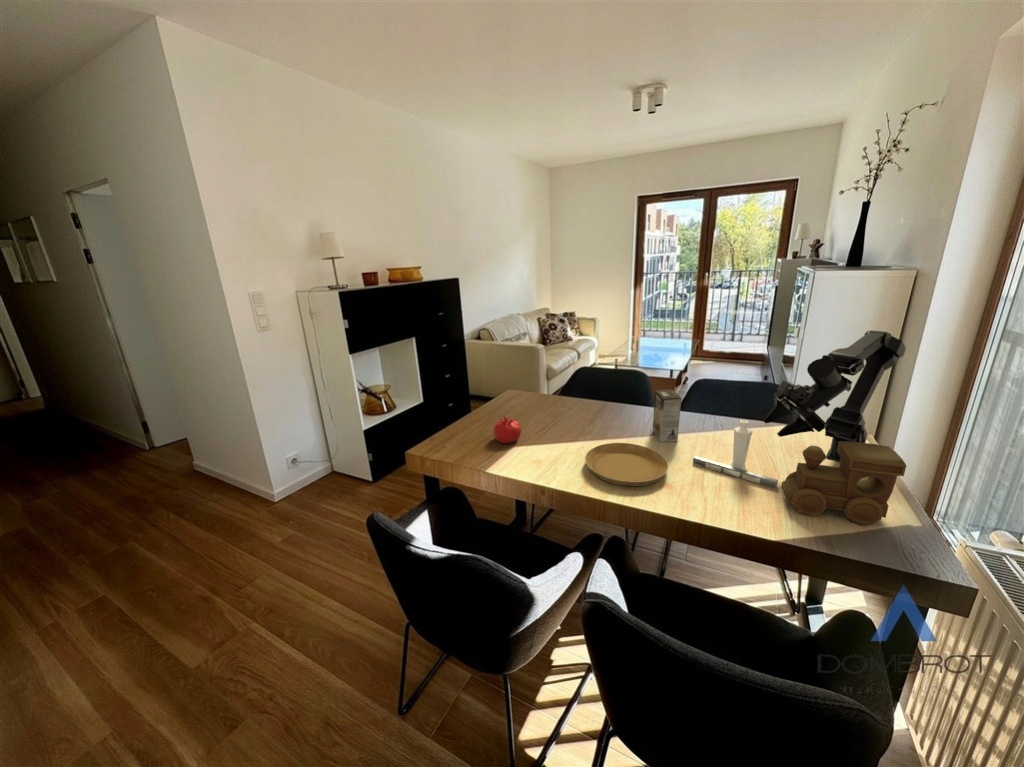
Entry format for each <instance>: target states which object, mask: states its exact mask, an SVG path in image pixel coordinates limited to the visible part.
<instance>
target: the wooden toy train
mask: <svg viewBox="0 0 1024 767" xmlns="http://www.w3.org/2000/svg"><path fill="white" fill-rule="evenodd" d="M837 452H838V454H839V456H840V461H838V462H839V463H838V467H836V466H832V465H831V466H830V465H823V464H822V463H823V462H824V461H825V460H826V458H827V457H826V455H827V454H825V452H824V451H823V449H822V447H820V446H817V445H809V446H808V447H806V448H805V449H803V451H802V457H803V459H804V461H805V462H797V465H796V468H795V471H793V472H791V473H789V474H788V475H787V476H786V478H785V480H782V482H781V485H780V487H781V489H782V493H783V495H784V499H785V502H789V503H791V504H792V507H793V508H794V510H796V511H797V512H799V513H801V515H805V516H817V515H820V514H822V513H823V512H824V511H825V510H826V509H829V510H834V511H835V510H837V511H842V512H844V514H845V516H846V518H848V519H849V520H850V521H851V522H853V523H855V524H858V525H864V526H865V525H866V526H868V525H873V524H877V523H879V521H881V519H882V518H886V517H887V513H888V510H889V506H890V505H889V504H888V501H889V499H890V498H891V496H892V493H893V490H894V488H895V484H896V481H897V478H898V477H904V476H905V472H906V469H907V466H908V465H907V464H906V463H905V461H904V459H903V458H902V457H901V455H899V454H898V452H896V451H895V450H894V449H893V448H892V447H890V446H888V445H882V444H876V443H870V442H869V443H868V442H865V443H860V442H849V441H839V442H838V447H837Z"/></svg>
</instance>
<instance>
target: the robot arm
mask: <svg viewBox="0 0 1024 767" xmlns="http://www.w3.org/2000/svg"><path fill="white" fill-rule="evenodd" d="M905 352H906V345H905V342H903V340H901V339H899V338H897V337H896V336H893V335H892V333H890V332H888V331H882V330H867V331H866V332H865V333H864V335H862V336H861V337H860V338H859V339H857V340H856V341H855V342H854V343H851V344H850V345H849V346H848V347H841V348H836V349H834V350H832V351H830V352H829V353H828V354H823V355H822V357H821V358H818V359H815V360H813V361H811V363H808V366H807V368H806V370H807V371H806V372H807V373H808V375H809V376H810V378H811V379H812V381H813V382H814V383H813V384H812V385H808V384H806V385H801V384H798V383H797V384H795V383H792V382H790V381H787V380H785V379H783V380H782V381H781V382H780V384H779V386H778V387H777V389H776V390H777V391H776V392H774V393H773V395H774V396H773V400H774V402H773V403H774V404H773V406H772V408H771V409H770V411H768V414H767V415H766V417H765V418H764V419H763V422H764V423H765V424H769V423H771V422H774V421H776V420H779V419H781V418H784V417H787V416H788V415H791V414H792V412H794V411H795V412H794V413H793V417H792V420H791V421H790V422H788V423H787V424H786V425H785V426H784V427H782V428H781V429H780V430H779V431H778V432H776V435H777V436H778V437H779V438H780V437H785V436H787V437H788V436H790V435H795V434H801V433H808V432H809V433H810V432H812V433H814V432H815V431H816V432H817V433H820V432H822V431H823V430H825V431H824V436H826V437H829V438H832V439H831V445H830V448H829V450H828V451H827V453H826V454H825V455H826V458H827V459H831V460H835V461H838V462H840V456H839V454H838V452H837V447H838V442H839V441H849V442H860V443H867V442H866V441H867V440H868V432H867V430H866V427H865V425H866V420H865V417H864V412H865V410H866V408H867V406H868V404H869V402H870V400H871V398H872V397H873V394H874V393H875V390H876V389H877V386H878V385H879V382H880V381H881V379H882V377H883V375H884V373H885V371H887V370H888V369H890V368H893V366H896V365H897V364H898V362H899V360H900V359H901V358H903V357H904V354H905ZM860 372H861V373H860ZM858 373H860V375H859V376H858V378H857V380H856V382H855V384H854V386H853V388H852V384H853V381H852V380H851V379H849V378H847V377H845V376H844V375H846V376H847V375H848V376H852V377H854V376H856V375H858ZM851 389H852V390H851ZM845 391H846V392H850V391H851V392H850V394H849V396H848V397H847V399H846V401H845V403H844V405H842V406H841V407H839V406H836V407H834V408H833V411H832V413H831V414H830V416H828V417H827V419H826V421H824V419H822V418H821V416H819V414H817V412H816V411H818V410H819V409H821V408H822V407H824V406H825V407H826V408H829V407H830V406H831V404H830V401H832V400H834V399H835V398H837V397H838V396H839V395H841V394H842V393H843V392H845Z"/></svg>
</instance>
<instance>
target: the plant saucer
mask: <svg viewBox="0 0 1024 767" xmlns="http://www.w3.org/2000/svg"><path fill="white" fill-rule="evenodd" d="M584 458H585V459H584V461H585V464H586V465H587V467H588V469H589V470H590V471H591V472H592V474H594V475H595V476H596V477H597V478H599V479H602V481H603V480H604V481H605V482H608V483H610V484H613V485H617V486H624V487H643V486H645V485H649V484H653V483H655V482H657V481H659V480H660V479H661V478H663V477H664V476H665V475H666V473H667V472H668V469H669V463H668V461H667V459H666V457H664V456H663V455H662V454H661V453H659V452H658V451H656V450H654V449H653V448H649V447H646V446H644V445H640V444H635V443H628V442H611V443H610V442H609V443H604V444H600V445H596V446H594V447H593V448H591V449H590V450H588V452H587V453H586V455H585V457H584Z"/></svg>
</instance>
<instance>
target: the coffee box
mask: <svg viewBox="0 0 1024 767" xmlns="http://www.w3.org/2000/svg"><path fill="white" fill-rule="evenodd" d="M681 405H682V397H681V396H680V395H679V394H678V393H677V392H676V391H675V390H674V389H673V388H671V389H670V388H669V389H659V390H658V389H657V390H656V389H655V390H654V401H653V419H652V432H653V433H654V435H655V437H656V438H657V439H658V441H659V440H660V441H667V442H678V441H679V431H680V430H679V429H680V417H681ZM660 441H659V442H660Z"/></svg>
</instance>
